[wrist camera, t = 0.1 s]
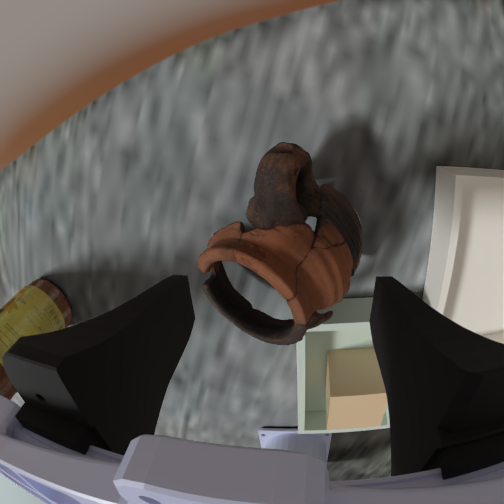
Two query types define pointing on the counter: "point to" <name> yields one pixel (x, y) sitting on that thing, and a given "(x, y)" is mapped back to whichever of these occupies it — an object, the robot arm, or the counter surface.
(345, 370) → the sandstone block
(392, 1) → the counter surface
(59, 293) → the sauce bottle
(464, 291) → the cream bin
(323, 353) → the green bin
